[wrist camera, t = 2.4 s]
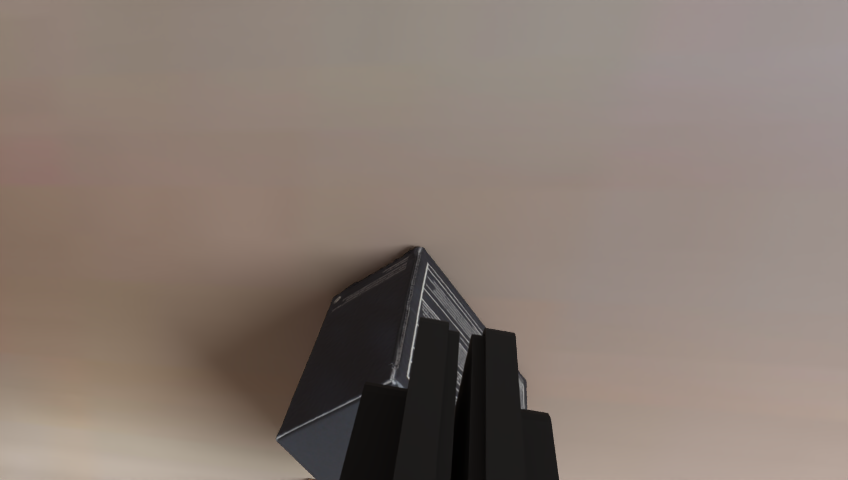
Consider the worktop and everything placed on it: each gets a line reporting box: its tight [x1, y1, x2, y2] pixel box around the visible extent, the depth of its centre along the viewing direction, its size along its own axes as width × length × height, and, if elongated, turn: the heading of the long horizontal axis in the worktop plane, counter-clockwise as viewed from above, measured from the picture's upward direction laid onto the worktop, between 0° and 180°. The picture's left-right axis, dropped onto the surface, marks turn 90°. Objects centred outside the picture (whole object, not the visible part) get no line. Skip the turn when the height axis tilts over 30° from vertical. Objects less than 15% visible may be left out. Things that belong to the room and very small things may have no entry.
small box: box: [276, 247, 527, 480], centre depth 30 cm, size 11×6×10 cm, turn 35°
